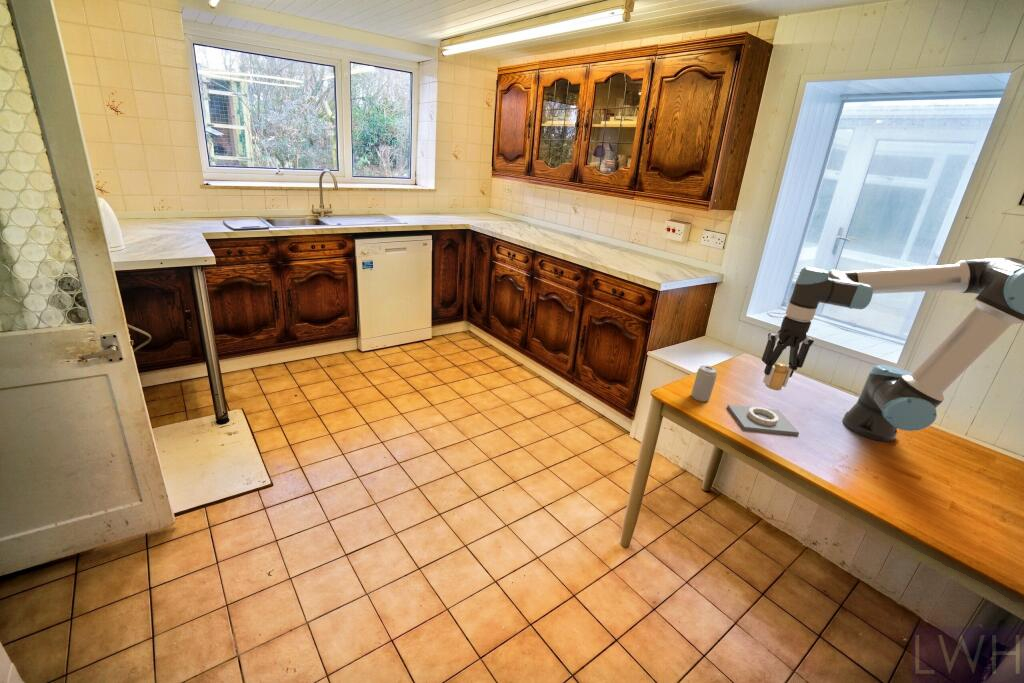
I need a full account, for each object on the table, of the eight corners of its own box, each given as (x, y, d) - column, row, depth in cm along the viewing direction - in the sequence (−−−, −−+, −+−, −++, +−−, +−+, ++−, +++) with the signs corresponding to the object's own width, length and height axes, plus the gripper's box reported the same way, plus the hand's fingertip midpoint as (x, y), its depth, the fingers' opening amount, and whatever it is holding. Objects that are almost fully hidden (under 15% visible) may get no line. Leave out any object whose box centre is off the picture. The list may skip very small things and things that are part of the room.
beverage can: (710, 397, 173) (719, 368, 169) (706, 404, 168) (716, 374, 164) (693, 391, 176) (701, 362, 172) (688, 398, 171) (697, 368, 167)
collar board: (777, 412, 168) (780, 405, 167) (798, 435, 155) (800, 428, 154) (727, 407, 168) (729, 400, 167) (743, 429, 155) (746, 422, 154)
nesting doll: (776, 383, 159) (784, 362, 155) (784, 391, 154) (792, 369, 151) (762, 382, 158) (770, 361, 155) (769, 389, 154) (777, 367, 151)
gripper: (819, 316, 150) (795, 381, 159) (764, 310, 150) (742, 376, 159) (833, 325, 143) (807, 392, 153) (775, 319, 143) (752, 386, 152)
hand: (774, 384), depth 156 cm, fingers closed on nesting doll, 5 cm apart
